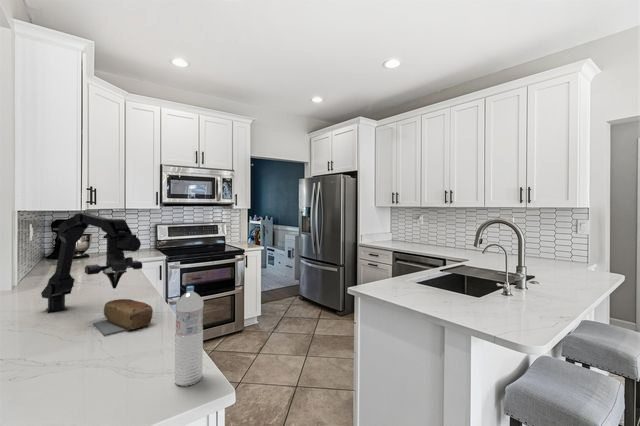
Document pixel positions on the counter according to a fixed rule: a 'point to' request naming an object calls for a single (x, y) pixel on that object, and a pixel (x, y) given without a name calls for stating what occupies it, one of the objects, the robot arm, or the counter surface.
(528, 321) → the counter surface
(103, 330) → the mat
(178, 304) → the water bottle
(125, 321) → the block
